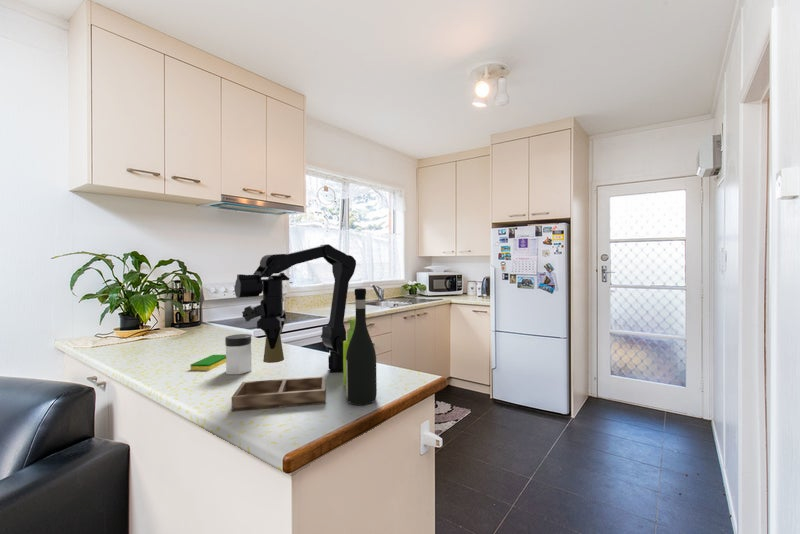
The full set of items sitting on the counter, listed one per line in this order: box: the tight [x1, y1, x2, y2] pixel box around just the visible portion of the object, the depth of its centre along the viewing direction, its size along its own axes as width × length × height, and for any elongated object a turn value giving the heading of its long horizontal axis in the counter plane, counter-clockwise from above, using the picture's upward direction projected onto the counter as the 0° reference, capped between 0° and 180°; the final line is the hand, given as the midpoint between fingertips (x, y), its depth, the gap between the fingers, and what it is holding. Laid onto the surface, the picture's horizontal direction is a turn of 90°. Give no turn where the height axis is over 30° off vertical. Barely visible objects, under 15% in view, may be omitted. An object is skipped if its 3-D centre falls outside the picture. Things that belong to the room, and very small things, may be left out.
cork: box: [262, 328, 285, 364], centre depth 112 cm, size 6×6×11 cm
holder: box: [231, 375, 327, 412], centre depth 100 cm, size 23×12×4 cm, turn 101°
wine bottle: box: [345, 287, 378, 406], centre depth 98 cm, size 8×8×30 cm
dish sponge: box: [190, 354, 226, 371], centre depth 134 cm, size 7×14×2 cm, turn 176°
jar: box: [224, 333, 253, 375], centre depth 126 cm, size 9×8×12 cm
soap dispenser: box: [342, 317, 356, 387], centre depth 111 cm, size 6×7×20 cm
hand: (273, 346), depth 112 cm, fingers closed on cork, 4 cm apart
